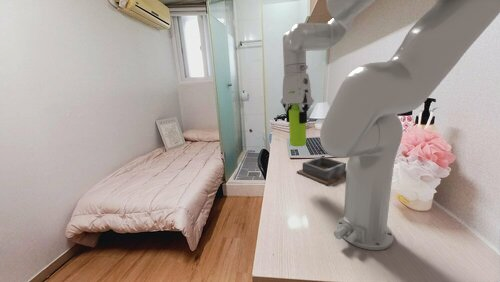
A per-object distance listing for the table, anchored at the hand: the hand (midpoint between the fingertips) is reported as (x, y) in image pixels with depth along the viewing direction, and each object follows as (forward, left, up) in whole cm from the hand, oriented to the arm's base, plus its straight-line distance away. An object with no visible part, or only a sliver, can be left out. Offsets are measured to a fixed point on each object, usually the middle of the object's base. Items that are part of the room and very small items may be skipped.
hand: (296, 121), depth 76 cm
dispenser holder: (+15, 0, -25) cm, 29 cm away
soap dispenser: (0, 0, -9) cm, 9 cm away
